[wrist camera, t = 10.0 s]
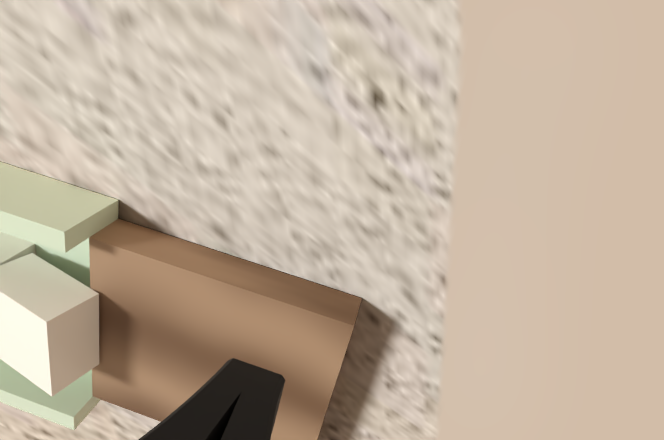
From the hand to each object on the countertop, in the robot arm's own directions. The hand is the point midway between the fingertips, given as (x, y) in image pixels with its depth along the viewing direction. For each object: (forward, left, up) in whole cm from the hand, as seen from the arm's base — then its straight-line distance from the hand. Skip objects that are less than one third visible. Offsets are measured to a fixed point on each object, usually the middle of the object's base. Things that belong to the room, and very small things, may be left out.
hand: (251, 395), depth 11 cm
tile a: (-8, +12, -8) cm, 16 cm away
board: (-8, +4, -9) cm, 13 cm away
